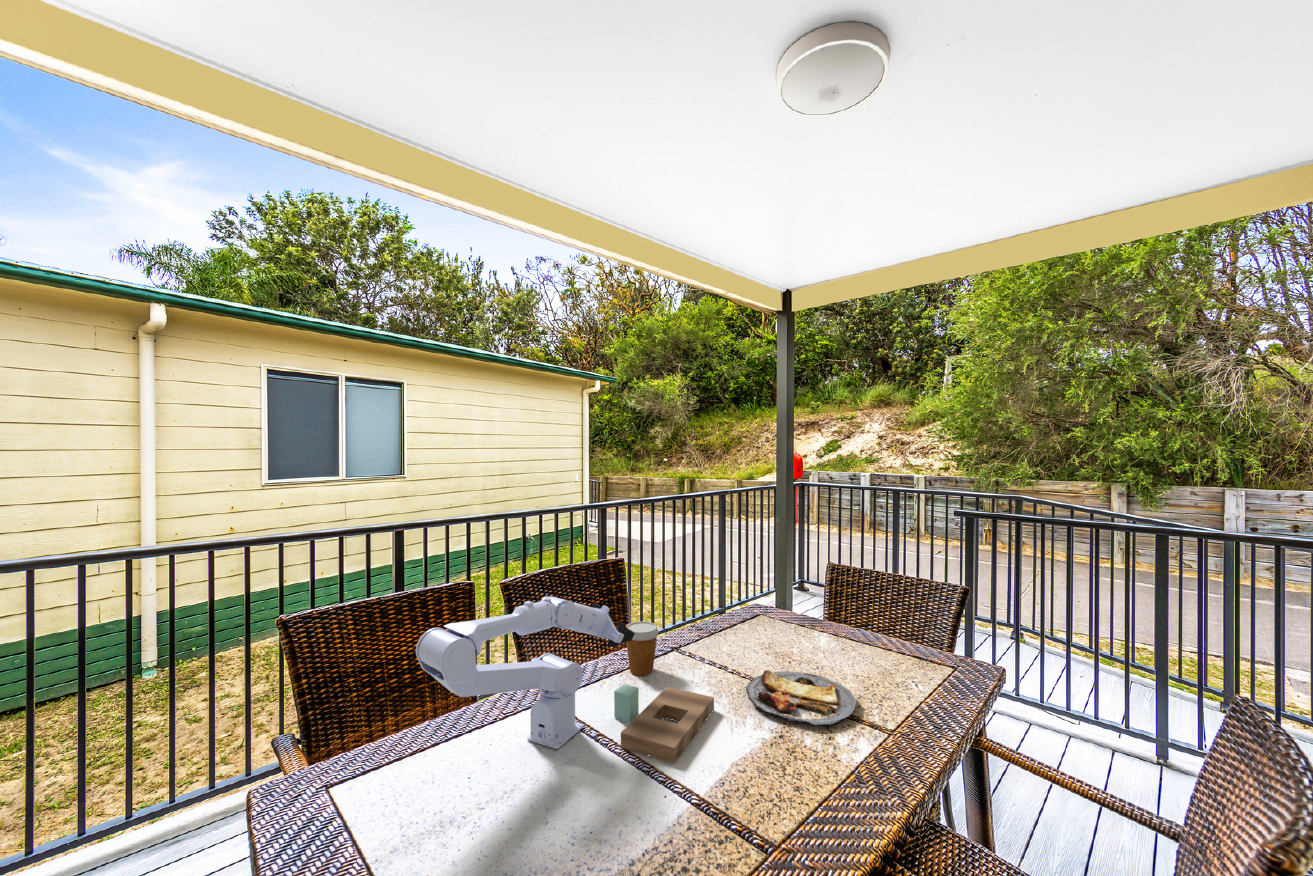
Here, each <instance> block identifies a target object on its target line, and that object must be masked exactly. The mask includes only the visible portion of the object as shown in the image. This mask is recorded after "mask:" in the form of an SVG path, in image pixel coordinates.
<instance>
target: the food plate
mask: <svg viewBox="0 0 1313 876" xmlns="http://www.w3.org/2000/svg"><path fill="white" fill-rule="evenodd" d="M745 692H746V694H747V697H748V700H749V701H750V702H751V703H752V705H753V706H755V707H759V708H760V709H761V711H762V712H766V713H770V714H771V715H773V714H774V715H777V716H780V717H781V718H782V719H783V718H784V719H787V721H789V722H793V721H795V722H800V723H803V722H806V723H809V724H811V725H816V726H818V725H822V726H823V725H833V724H835V723H838V722H840V720H844V719H845V718H847V717H848V718H849V717H850V716H851V715H852V714H853V713H854V711H855V710H856V706H857V705H856V704H857V701H858V700H857V698H856V697H855V695H853V692H851V691H850V690H849V689H848V688H847V687H846V686H844V685H843V684H841V683H839V682H836V681H835V680H831V679H829V678H828V677H825V676H822V675H818V674H814V673H808V672H807V673H805V672H799V671H792V670H791V671H789V670H788V671H785V670H783V671H774V672H772V671H770V670H769V669H768V670H767V669H765V670H764V671H763V673H762V674H761V675H758V676H756V677H755V678H753V679H751V681H750V682H748V684H747V685H746V687H745ZM834 706H836V709H835V713H834V714H832V715H831V713H832V712H833V708H834ZM812 712H813V713H816V714H821V715H824V716H826V717H823V718H811V719H810V718H809V719H808V718H802V717H801V718H800V717H797V718H796V717H795V715H792V716H793V717H792V716H790V715H788V716H787V715H784V714H796V716H798V715H800V714H801V715H802V714H803V715H804V714H807V713H809V714H811V713H812ZM782 713H784V714H782ZM780 714H781V715H780ZM797 714H798V715H797ZM828 714H829V715H830V716H827V715H828Z"/></svg>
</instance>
